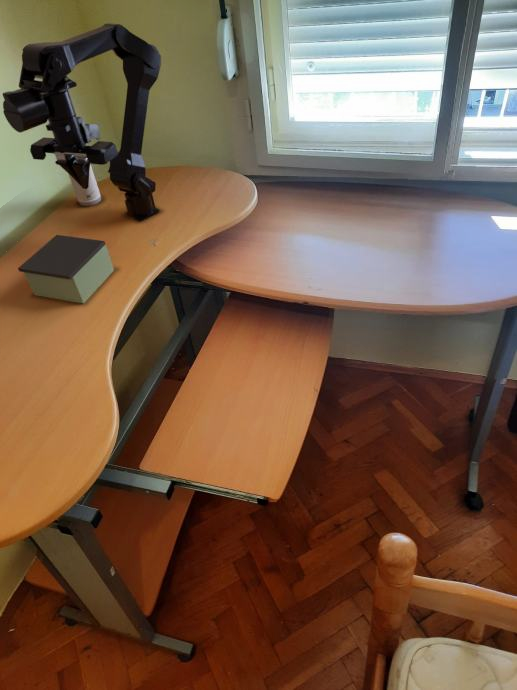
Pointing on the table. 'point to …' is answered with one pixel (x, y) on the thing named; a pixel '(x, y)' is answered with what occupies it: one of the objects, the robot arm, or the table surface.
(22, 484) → the table surface
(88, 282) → the sage green storage tray
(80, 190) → the travel mug
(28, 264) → the dark flat rectangular panel
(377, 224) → the table surface
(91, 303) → the table surface
